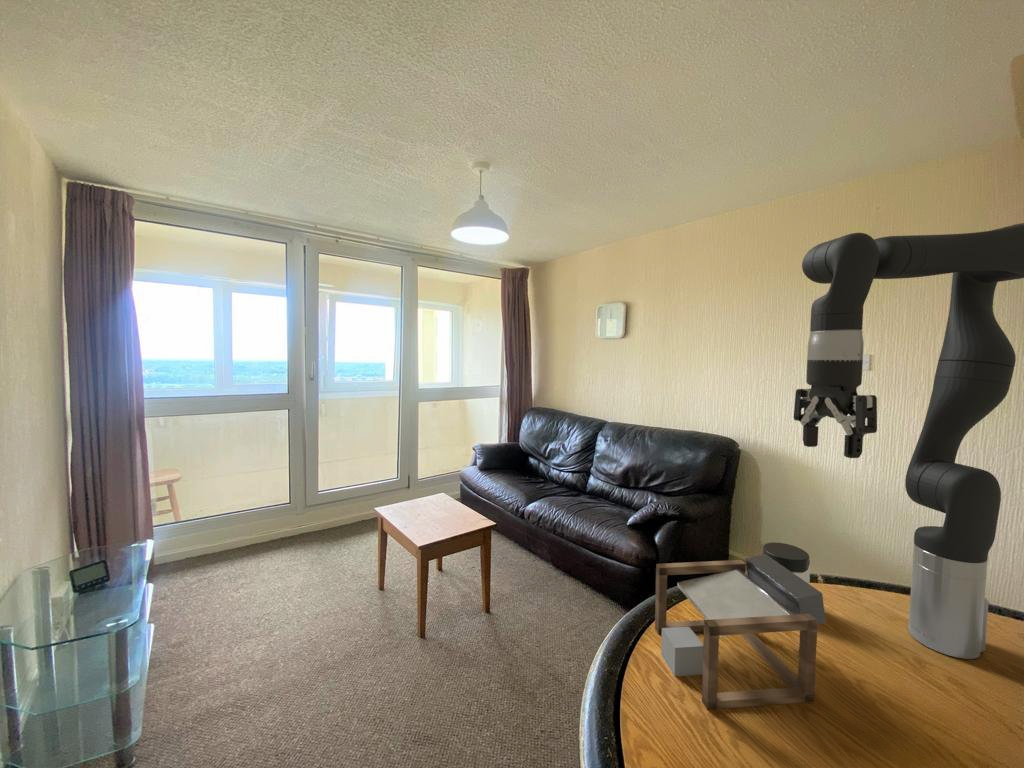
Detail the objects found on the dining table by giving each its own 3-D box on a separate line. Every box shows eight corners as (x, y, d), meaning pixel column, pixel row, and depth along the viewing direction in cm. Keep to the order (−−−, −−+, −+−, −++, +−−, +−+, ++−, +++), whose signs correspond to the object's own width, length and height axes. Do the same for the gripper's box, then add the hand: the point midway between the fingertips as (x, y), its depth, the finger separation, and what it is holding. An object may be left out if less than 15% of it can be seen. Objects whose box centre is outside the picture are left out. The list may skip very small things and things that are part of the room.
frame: (738, 623, 82) (740, 559, 81) (813, 701, 64) (817, 619, 63) (654, 628, 81) (656, 563, 80) (707, 709, 62) (709, 626, 61)
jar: (819, 616, 84) (821, 558, 84) (785, 621, 83) (788, 563, 82) (781, 591, 93) (783, 539, 92) (750, 596, 91) (752, 543, 91)
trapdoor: (765, 576, 80) (762, 552, 79) (829, 626, 65) (826, 596, 65) (678, 596, 79) (674, 571, 78) (723, 650, 64) (719, 620, 64)
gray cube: (689, 626, 74) (661, 628, 73) (704, 645, 69) (675, 647, 69) (688, 653, 74) (661, 655, 74) (703, 674, 69) (674, 676, 69)
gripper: (896, 357, 64) (890, 461, 65) (820, 357, 78) (816, 442, 80) (850, 358, 64) (845, 462, 65) (782, 357, 78) (779, 443, 79)
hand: (829, 451), depth 72 cm, fingers open, 8 cm apart
